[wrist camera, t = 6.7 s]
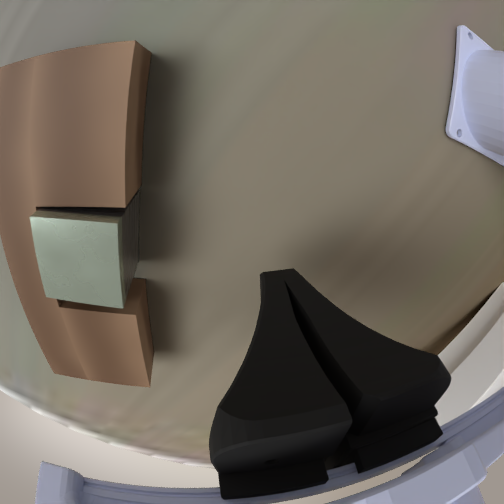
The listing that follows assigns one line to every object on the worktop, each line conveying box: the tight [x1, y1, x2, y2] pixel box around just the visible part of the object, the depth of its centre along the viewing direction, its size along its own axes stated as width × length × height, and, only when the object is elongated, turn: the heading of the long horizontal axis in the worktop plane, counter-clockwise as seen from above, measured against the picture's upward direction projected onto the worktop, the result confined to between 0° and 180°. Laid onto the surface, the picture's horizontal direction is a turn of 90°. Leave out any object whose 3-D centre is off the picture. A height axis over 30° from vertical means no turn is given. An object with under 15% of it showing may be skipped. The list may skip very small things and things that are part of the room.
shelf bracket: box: [434, 282, 504, 450], centre depth 20 cm, size 6×25×13 cm, turn 112°
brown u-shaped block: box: [0, 41, 154, 387], centre depth 12 cm, size 7×18×3 cm, turn 172°
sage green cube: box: [30, 190, 140, 309], centre depth 12 cm, size 4×4×4 cm
